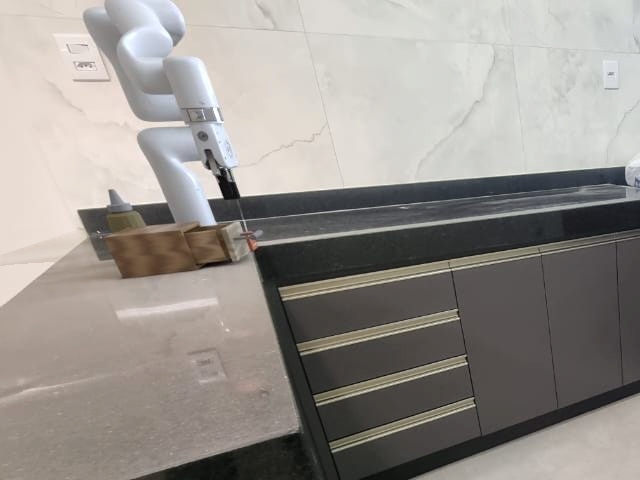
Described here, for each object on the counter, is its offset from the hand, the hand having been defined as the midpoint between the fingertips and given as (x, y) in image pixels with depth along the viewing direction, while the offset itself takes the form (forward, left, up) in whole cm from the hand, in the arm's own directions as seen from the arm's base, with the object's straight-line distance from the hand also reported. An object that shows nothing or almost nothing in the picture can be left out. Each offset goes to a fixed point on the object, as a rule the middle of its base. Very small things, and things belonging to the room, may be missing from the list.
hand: (232, 199), depth 130 cm
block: (-13, -5, -15) cm, 20 cm away
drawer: (0, -6, -14) cm, 15 cm away
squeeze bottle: (-15, -29, -15) cm, 36 cm away
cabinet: (0, -18, -15) cm, 23 cm away
